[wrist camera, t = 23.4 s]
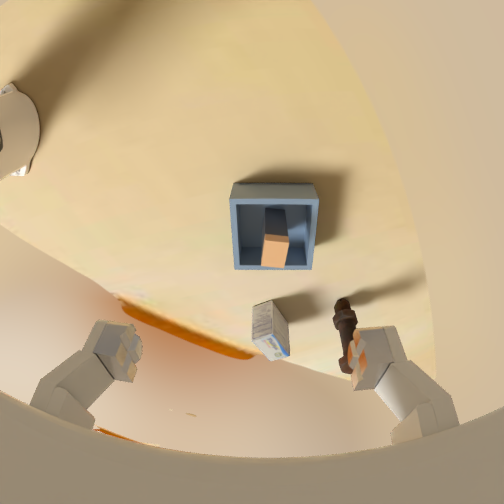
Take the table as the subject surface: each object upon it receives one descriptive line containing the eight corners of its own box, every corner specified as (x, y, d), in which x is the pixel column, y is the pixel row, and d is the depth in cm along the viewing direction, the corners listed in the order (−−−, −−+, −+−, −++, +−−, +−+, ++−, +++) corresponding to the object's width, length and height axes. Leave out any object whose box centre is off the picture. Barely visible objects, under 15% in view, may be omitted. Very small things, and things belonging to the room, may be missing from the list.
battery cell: (261, 230, 45) (261, 266, 37) (265, 207, 42) (264, 240, 35) (280, 232, 45) (283, 268, 38) (285, 209, 43) (289, 242, 35)
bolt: (358, 294, 53) (376, 357, 41) (350, 312, 56) (366, 373, 44) (330, 293, 53) (344, 358, 41) (324, 311, 56) (335, 374, 44)
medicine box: (252, 305, 56) (250, 340, 49) (272, 298, 54) (273, 334, 47) (269, 328, 60) (269, 362, 53) (288, 322, 58) (290, 356, 51)
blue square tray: (237, 248, 48) (234, 269, 43) (233, 183, 41) (229, 198, 37) (307, 248, 47) (311, 269, 43) (312, 183, 41) (319, 199, 36)
